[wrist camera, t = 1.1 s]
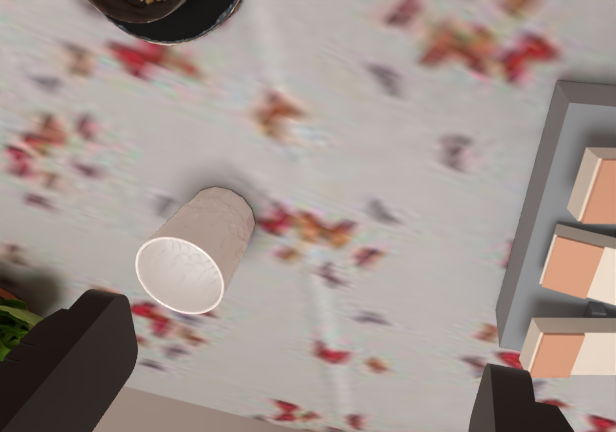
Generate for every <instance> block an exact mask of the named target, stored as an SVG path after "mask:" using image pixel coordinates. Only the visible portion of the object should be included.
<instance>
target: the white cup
mask: <svg viewBox="0 0 616 432" xmlns="http://www.w3.org/2000/svg"><path fill="white" fill-rule="evenodd" d="M254 226H255V221H254V217H253V212H252V209H251V208H250V207H249V206H248V204H247V203H246V202H245V200H244V199H243V198H242V197H241V196H239V195H237V194H236V193H234V192H232V191H231V190H229V189H224V188H218V187H212V188H208V189H204V190H201V191H200V192H199V193H198V194H197V195H196V196H195V197H194V198H193V199H192V200H191V201H190V202H188V203H187V204H186V205H184V206H183V207H182V208H181V209H179V210H178V211H177V212H176V213H175V214H174V215H173V216H172V217H171V218H170V219H168V220H167V221H166V223H165V224H164V225H163V226H162V227H161V228H160V229H159V230H158V231H157V232H156V233H155V234H154V235H152V236H151V237H150V238H149V239H148V240H147V241H146V242H145V243H144V244H143V245H142V246H141V248H140V249H139V251H138V253H137V255H136V260H135V268H136V273H137V276H138V279H139V281H140V283H141V284H142V286H143V287H144V289H145V290H146V291H147V292H148V294H149V295H150V296H151V297H153V298H154V299H155V300H156V301H157V302H159V303H160V304H162V305H163V306H165V307H167V308H169V309H171V310H174V311H177V312H180V313H185V314H200V313H205V312H208V311H210V310H212V309H213V308H215V307H216V306H217V305H218V304H219V302H220V301H221V299H222V297H223V295H224V293H225V291H226V289H227V287H228V285H229V283H230V281H231V279H232V277H233V275H234V273H235V271H236V269H237V267H238V265H239V263H240V261H241V258H242V256H243V254H244V252H245V250H246V248H247V244H248V242H249V240H250V238H251V236H252V233H253V229H254Z"/></svg>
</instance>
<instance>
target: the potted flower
mask: <svg viewBox="0 0 616 432" xmlns="http://www.w3.org/2000/svg"><path fill="white" fill-rule="evenodd" d="M26 307H27V304H26V303H25V302H24V301H21V300H19V299H18V298H16V297H15V296H14V295H13V294H11V293H9V292H7V291H6V290H4V289H3V288H0V361H3V360H4V356H5V355H6V354H7V353H8V352H9V351H10V350H11V349H12V348H13V347H14V346H15V345H17V346H18V345H19V341H20V340H21V339H22V338H23V337H24V336H25V335H26V334H27V333H28V332H29V331H30V330H31V329H32V328H33V327H34V326H35V325H36V324H37V323H38V322H40V321H41V320H43V319H44V318H42V317H40V316H38V315H36V314H34V313H31V312H30V311H29V309H28V308H26Z"/></svg>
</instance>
